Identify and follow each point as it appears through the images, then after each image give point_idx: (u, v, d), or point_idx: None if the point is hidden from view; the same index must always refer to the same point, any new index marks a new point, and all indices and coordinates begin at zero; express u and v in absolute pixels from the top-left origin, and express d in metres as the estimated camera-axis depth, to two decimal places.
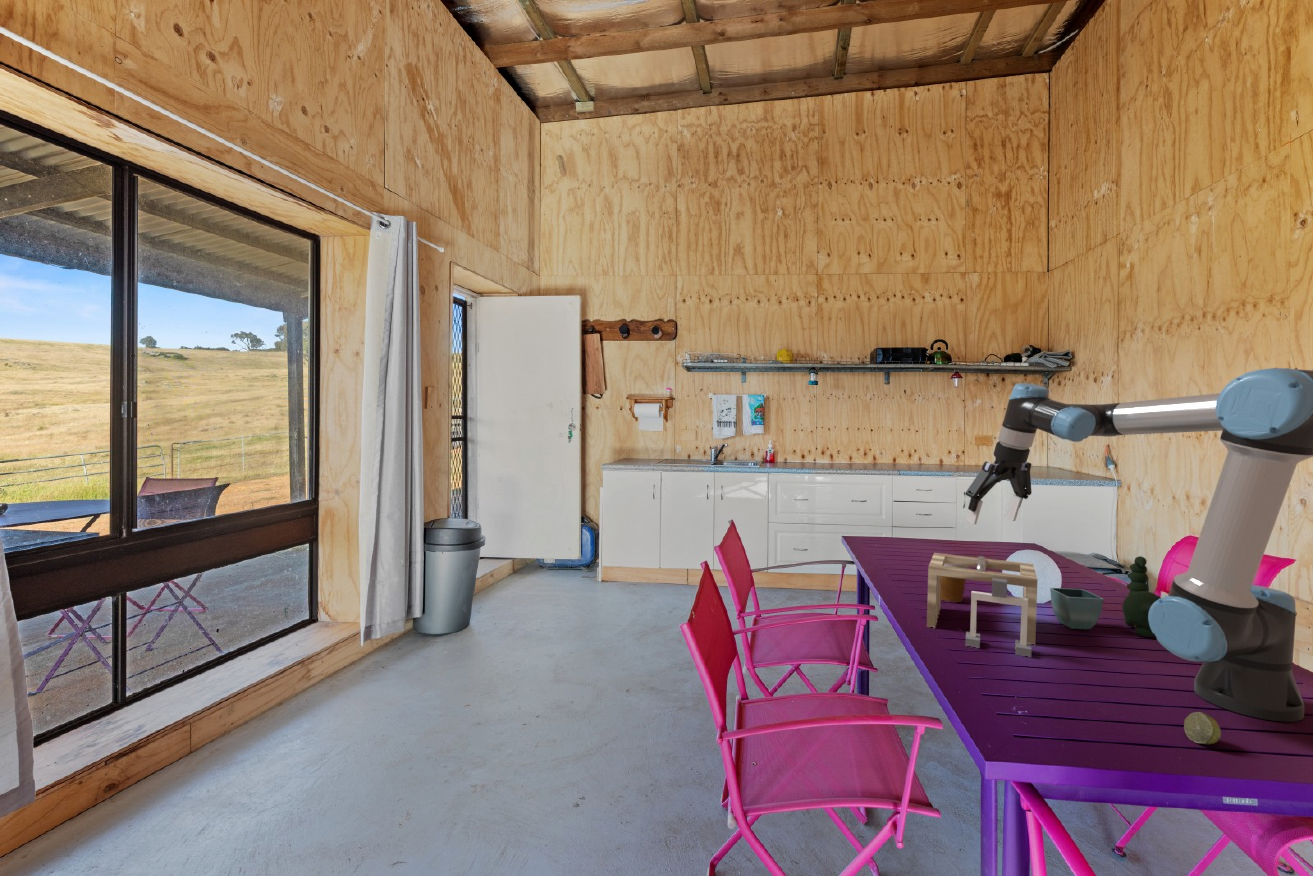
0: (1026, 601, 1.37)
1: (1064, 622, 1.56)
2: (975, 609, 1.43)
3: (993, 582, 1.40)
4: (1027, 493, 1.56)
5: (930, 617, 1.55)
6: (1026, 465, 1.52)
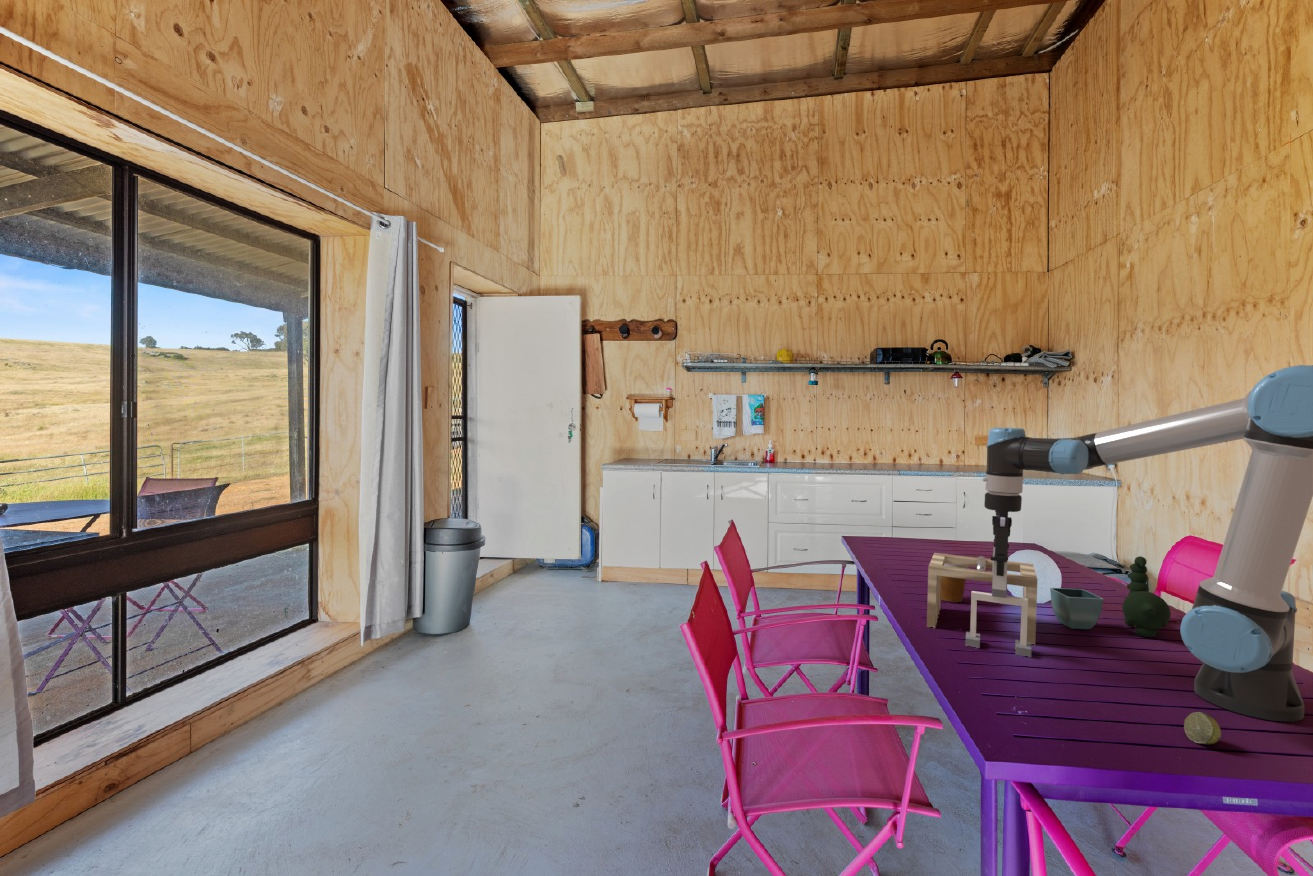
0: (1026, 601, 1.37)
1: (1064, 622, 1.56)
2: (975, 609, 1.43)
3: None
4: None
5: (930, 617, 1.55)
6: None
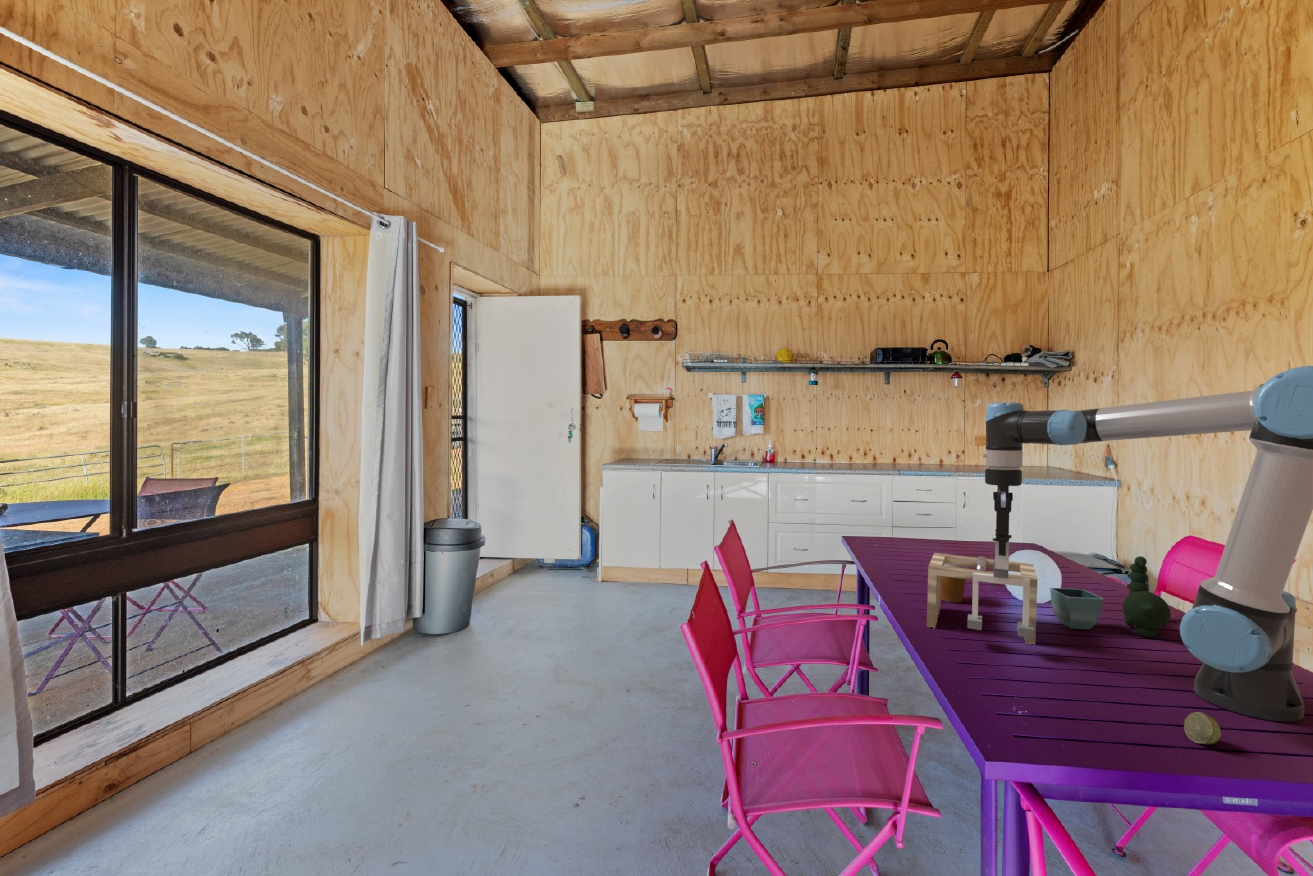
0: (1028, 581, 1.37)
1: (1064, 622, 1.56)
2: (977, 590, 1.42)
3: (994, 563, 1.39)
4: None
5: (930, 617, 1.55)
6: None
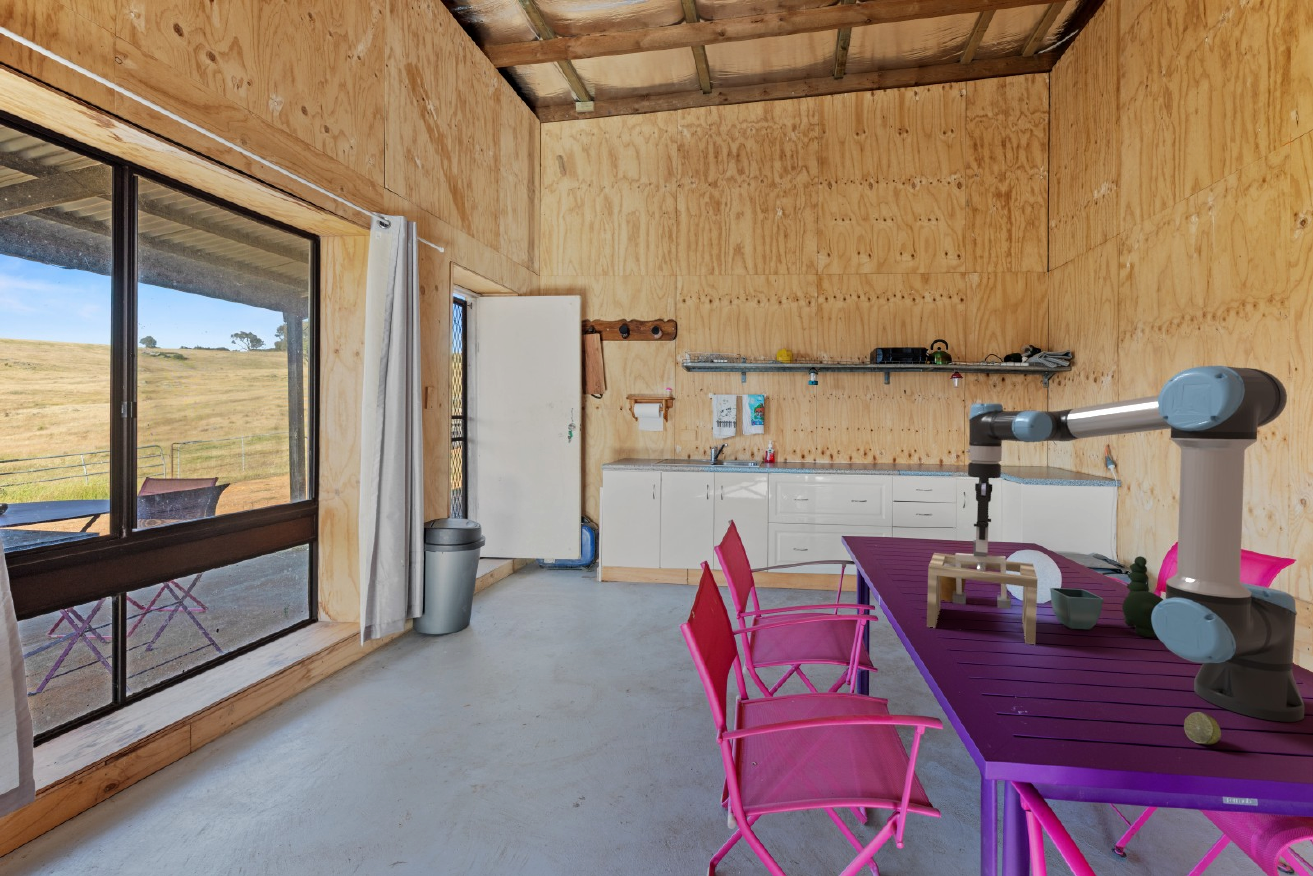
0: (1004, 558, 1.53)
1: (1064, 622, 1.56)
2: None
3: (974, 543, 1.56)
4: None
5: (930, 617, 1.55)
6: None
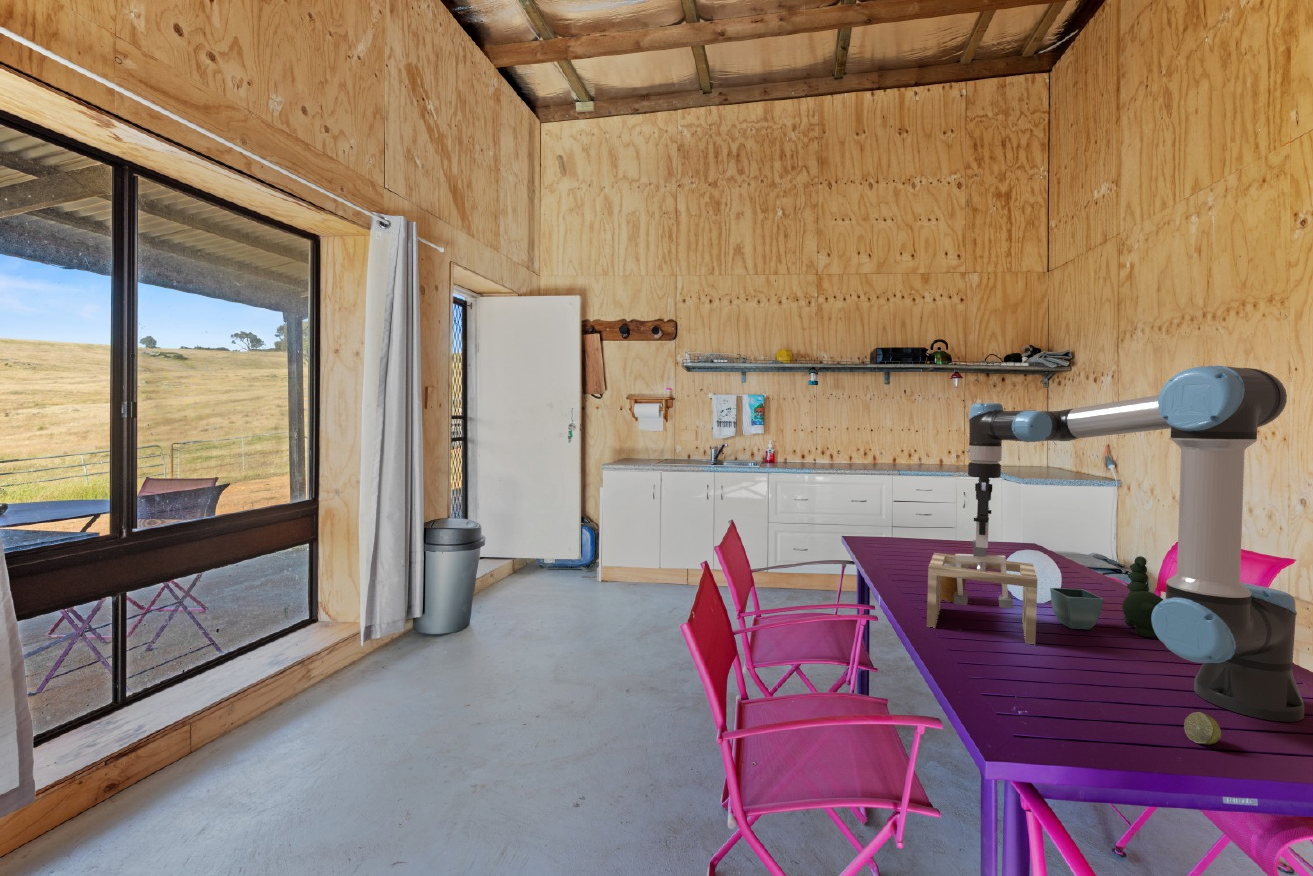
0: (1004, 558, 1.53)
1: (1064, 622, 1.56)
2: None
3: (973, 543, 1.56)
4: None
5: (930, 617, 1.55)
6: None
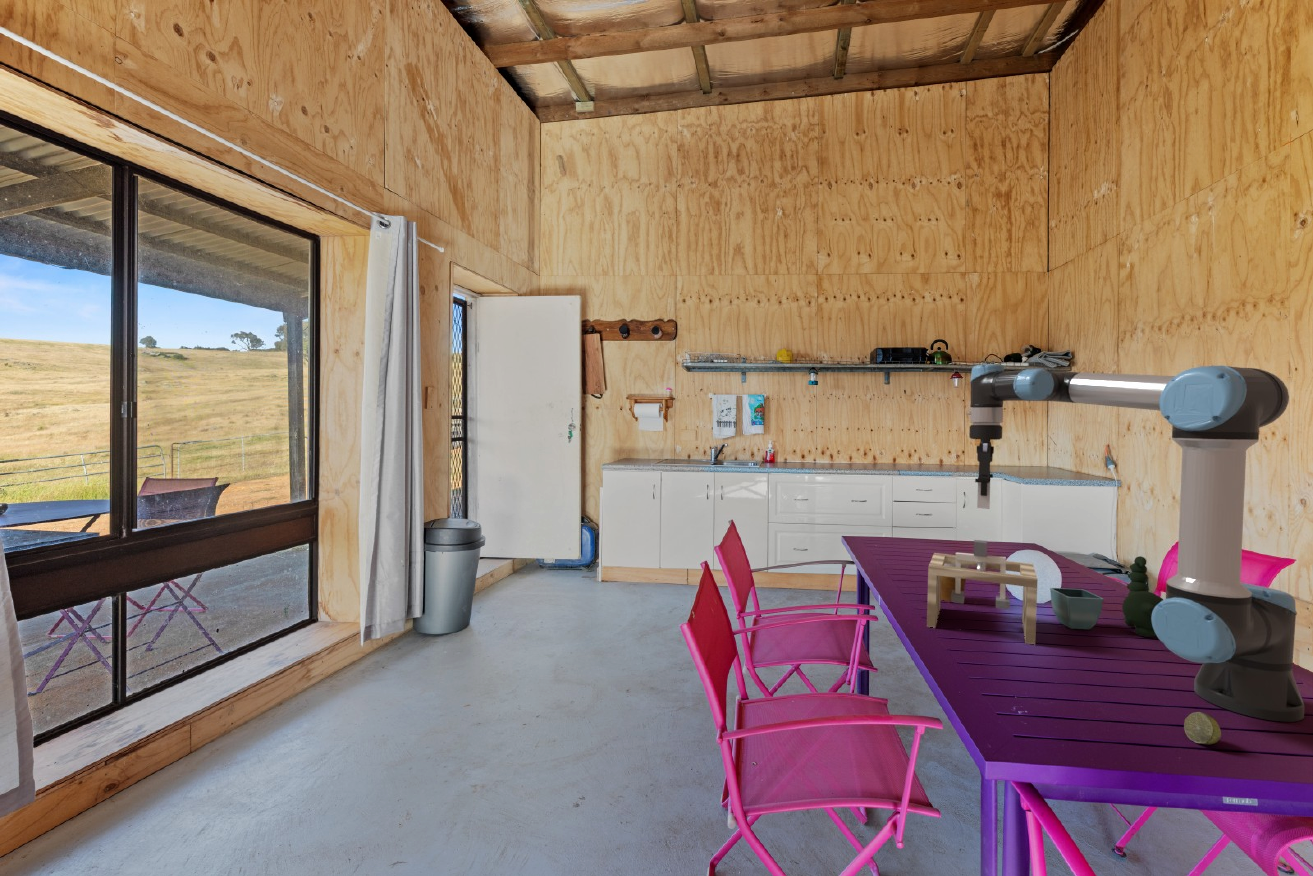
0: (1004, 559, 1.53)
1: (1064, 622, 1.56)
2: None
3: (975, 543, 1.56)
4: None
5: (930, 617, 1.55)
6: None
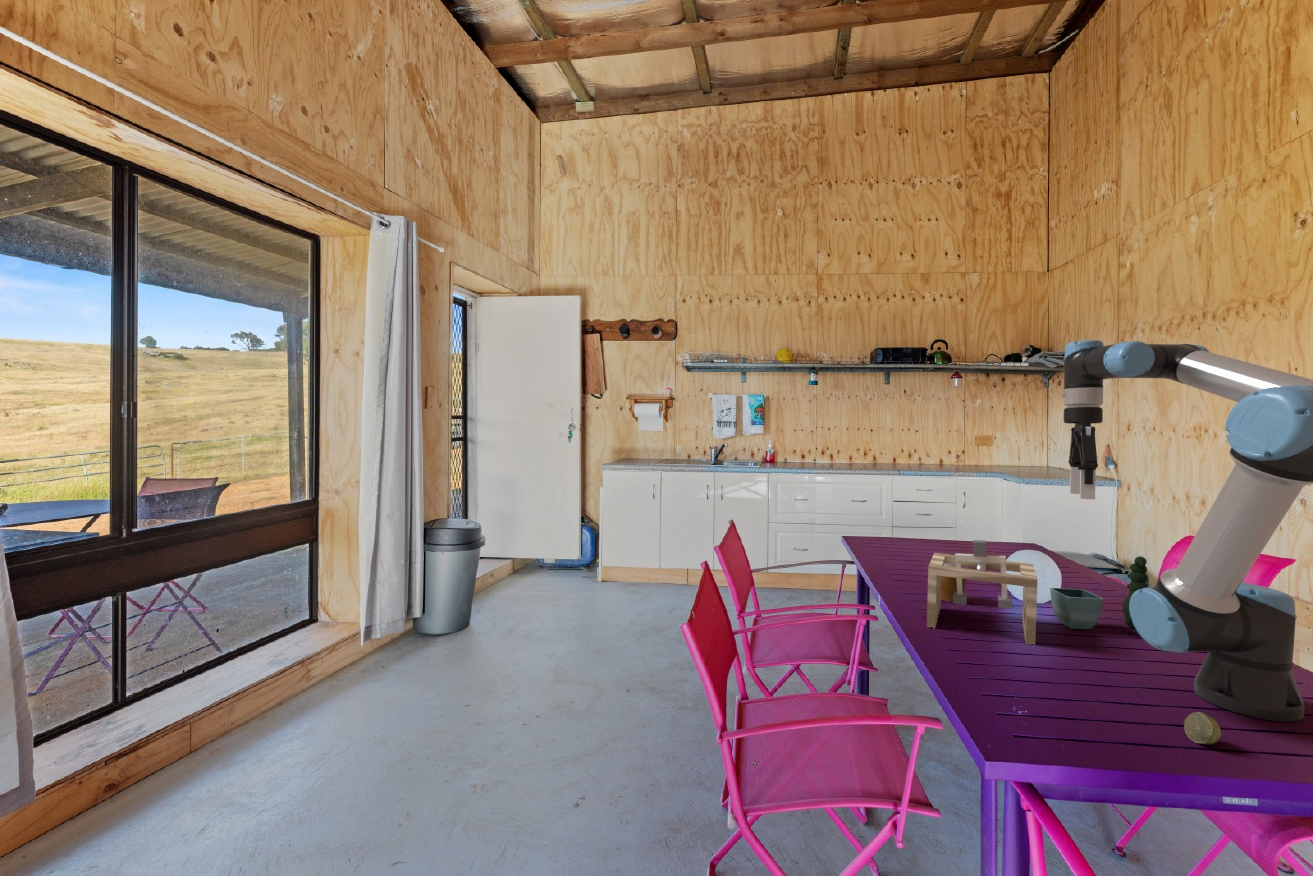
0: (1004, 558, 1.53)
1: (1064, 622, 1.56)
2: None
3: (973, 543, 1.56)
4: None
5: (930, 617, 1.55)
6: None
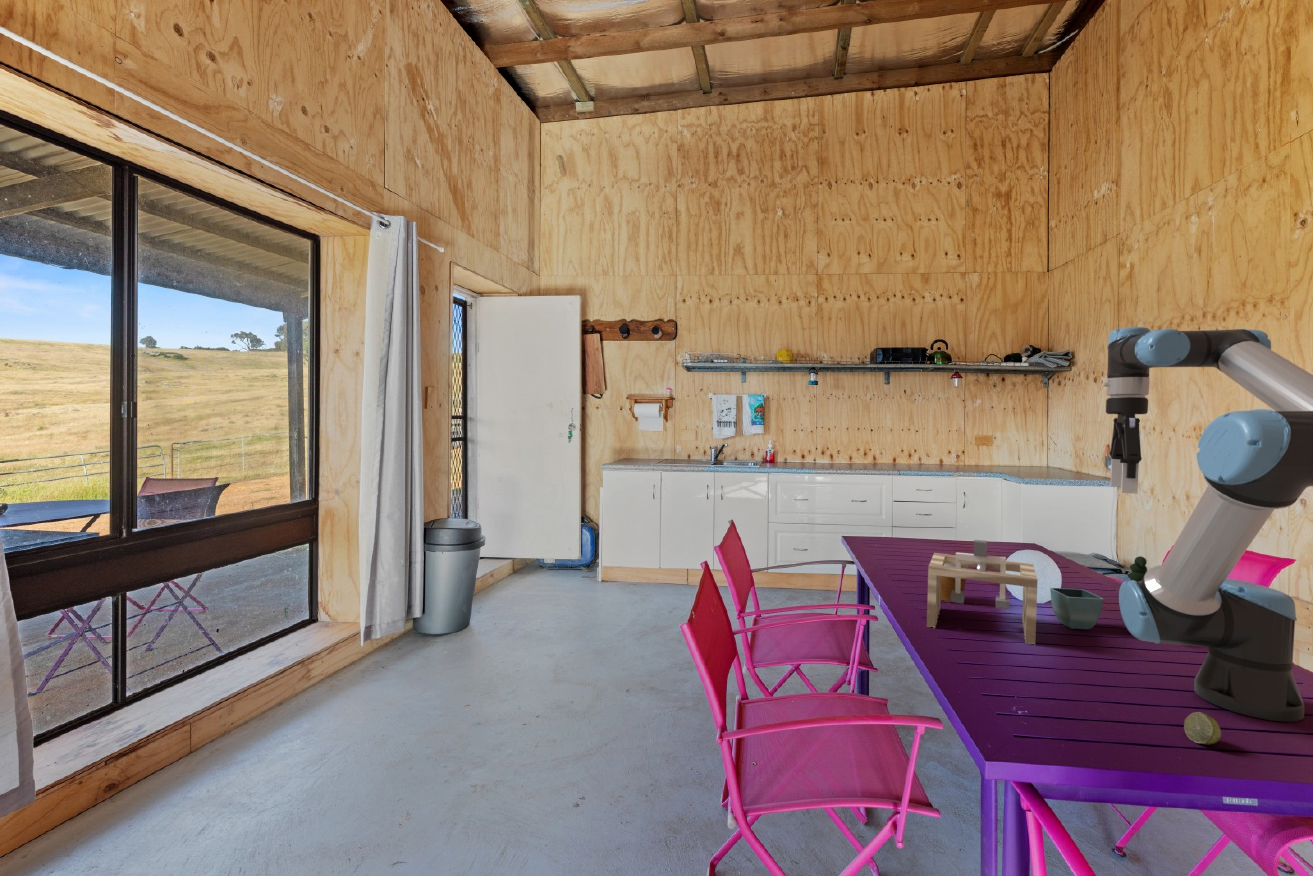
0: (1004, 559, 1.53)
1: (1064, 622, 1.56)
2: None
3: (975, 543, 1.56)
4: None
5: (930, 617, 1.55)
6: None
